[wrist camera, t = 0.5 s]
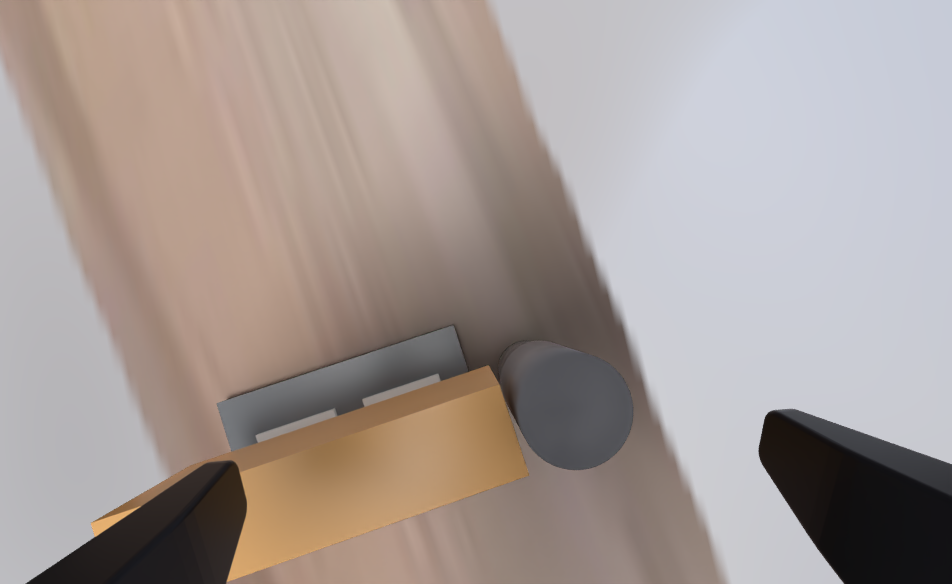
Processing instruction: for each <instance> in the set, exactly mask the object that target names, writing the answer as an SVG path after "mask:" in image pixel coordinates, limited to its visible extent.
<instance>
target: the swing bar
mask: <svg viewBox="0 0 952 584" xmlns="http://www.w3.org/2000/svg"><path fill="white" fill-rule="evenodd" d="M500 385H501V388H500ZM500 385H499V383H498V381H497V379H496V377H495V376H494V374H493V372H492V370H491V369H490V367H489V365H488V366H485V367H482V368H479V369H476V370H473V371H470V372H467V373H464V374H461V375H458V376H455V377H452V378H449V379H446V380H443V381H440V382H437V383H434V384H431V385H428V386H425V387H422V388H419V389H416V390H413V391H410V392H407V393H404V394H401V395H399V396H396V397H393V398H390V399H387V400H384V401H381V402H378V403H375V404H372V405H369V406H366V407H363V408H360V409H357V410H354V411H351V412H348V413H345V414H342V415H339V416H336V417H333V418H330V419H327V420H324V421H321V422H318V423H315V424H312V425H309V426H307V427H304V428H301V429H298V430H295V431H292V432H289V433H286V434H283V435H280V436H277V437H274V438H271V439H268V440H265V441H262V442H259V443H256V444H253V445H250V446H247V447H244V448H241V449H238V450H235V451H232V452H229V453H226V454H223V455H220V456H217V457H215V458H212V459H209V460H206V461H203V462H200V463H197V464H194V465H191V466H189V467H187V468H185V469H184V470H182V471H180V472H178V473H177V474H175V475H173V476H171V477H170V478H168V479H166V480H164V481H163V482H161V483H159V484H158V485H156V486H154V487H152V488H151V489H149V490H147V491H145V492H144V493H142V494H140V495H139V496H137V497H135V498H134V499H132V500H130V501H128V502H126V503H125V504H123V505H121V506H119V507H118V508H116V509H114V510H113V511H111V512H109V513H107V514H106V515H104V516H102V517H100V518H99V519H97V520H95V521H93V522H92V523H91V525H92V529H93V532H94V535H95V537H96V536H97V535H99V534H100V533H102V532H103V531H105V530H106V529H108V528H109V527H111V526H112V525H114V524H115V523H117V522H118V521H120V520H121V519H123V518H124V517H126V516H127V515H129V514H130V513H132V512H133V511H135V510H136V509H138V508H139V507H141V506H142V505H144V504H145V503H147V502H148V501H150V500H151V499H153V498H154V497H156V496H157V495H159V494H160V493H161V492H163V491H164V490H166V489H167V488H169V487H170V486H172V485H173V484H175V483H176V482H178V481H179V480H181V479H182V478H184V477H185V476H187V475H188V474H190V473H191V472H193V471H194V470H196V469H197V468H199V467H200V466H202V465H203V464H205V463H208V462H214V461H225V460H232V461H234V462H236V464H237V465H238V468H239V471H240V475H241V479H242V483H243V487H244V491H245V495H246V499H247V513H246V518H245V521H244V525H243V528H242V532H241V535H240V538H239V542H238V545H237V549H236V552H235V555H234V559H233V562H232V566H231V569H230V572H229V576H228V579H227V582H228V581H231V580H234V579H237V578H239V577H242V576H245V575H248V574H251V573H254V572H256V571H259V570H262V569H265V568H268V567H271V566H273V565H276V564H279V563H282V562H285V561H288V560H291V559H293V558H296V557H299V556H302V555H305V554H308V553H310V552H313V551H316V550H319V549H322V548H325V547H327V546H330V545H333V544H336V543H339V542H342V541H344V540H347V539H350V538H353V537H356V536H359V535H362V534H364V533H367V532H370V531H373V530H376V529H379V528H381V527H384V526H387V525H390V524H393V523H396V522H398V521H401V520H404V519H407V518H410V517H413V516H415V515H418V514H421V513H424V512H427V511H430V510H433V509H435V508H438V507H441V506H444V505H447V504H450V503H452V502H455V501H458V500H461V499H464V498H467V497H469V496H472V495H475V494H478V493H481V492H484V491H486V490H489V489H492V488H495V487H498V486H501V485H504V484H506V483H509V482H512V481H515V480H518V479H521V478H523V477H526V476H529V473H528V470H527V467H526V464H525V461H524V458H523V455H522V452H521V449H520V446H519V443H518V440H517V436H516V433H515V430H514V427H513V424H512V421H511V418H510V415H509V412H508V409H507V406H506V403H507V405H508V407H509V409H510V411H511V413H512V415H513V416H514V418H515V420H516V422H517V424H518V426H519V428H520V430H521V432H522V434H523V435H524V437H525V439H526V441H527V443H528V444H529V446H530V447H531V448H532V450H533V451H534V452H535V453H536V454H537V455H538V456H539V457H541V458H542V459H543V460H545V461H546V462H548V463H550V464H552V465H554V466H556V467H559V468H563V469H569V470H583V469H589V468H592V467H596V466H598V465H600V464H602V463H604V462H606V461H607V460H609V459H610V458H611V457H613V456H614V455H615V454H616V453H617V452H618V451H619V450H620V448H621V447H622V446H623V444H624V443H625V441H626V439H627V437H628V435H629V432H630V430H631V426H632V421H633V402H632V397H631V394H630V391H629V388H628V386H627V384H626V382H625V381H624V379H623V378H622V376H621V375H620V374H619V372H618V371H617V370H616V369H615V368H614V367H612V366H611V365H610V364H609V363H607V362H605V361H604V360H602V359H600V358H598V357H595V356H592V355H589V354H586V353H583V352H580V351H577V350H574V349H571V348H568V347H565V346H562V345H559V344H556V343H553V342H549V341H532V342H528V343H526V344H523V345H521V346H520V347H518V348H517V349H515V350H514V351H513V352H512V353H511V354H510V355H509V357H508V358H507V360H506V361H505V363H504V366H503V368H502V372H501V378H500ZM504 399H505V400H504ZM505 401H506V403H505Z"/></svg>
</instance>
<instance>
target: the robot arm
mask: <svg viewBox="0 0 952 584" xmlns="http://www.w3.org/2000/svg"><path fill="white" fill-rule="evenodd" d="M759 457H760V460H761V463H762V465H763V466H764V468H765V469H766V471H767V473H768V474H769V475H770V477H771V479H772V480H773V482H774V483H775V485H776V486H777V488H778V489H779V491H780V492H781V494H782V496H783V497H784V499H785V500H786V502H787V503H788V505H789V506H790V508H791V509H792V511H793V513H794V514H795V515H796V517H797V518H798V520H799V522H800V523H801V525H802V526H803V528H804V529H805V531H806V533H807V534H808V535H809V537H810V538H811V540H812V541H813V543H814V544H815V545H816V547H817V549H818V550H819V551H820V553H821V554H822V555H823V557H824V558H825V559H826V561H827V562H828V563H829V565H830V566H831V567H832V569H833V570H834V571H835V573H836V574H837V575H838V576H839V578H840V579H841V580H842V581H843V583H844V584H952V464H949V463H946V462H944V461H941V460H938V459H935V458H932V457H930V456H927V455H924V454H921V453H918V452H915V451H912V450H910V449H907V448H904V447H901V446H898V445H895V444H892V443H890V442H887V441H884V440H881V439H878V438H875V437H872V436H870V435H867V434H864V433H861V432H858V431H855V430H853V429H850V428H847V427H844V426H841V425H838V424H836V423H833V422H830V421H827V420H824V419H821V418H819V417H815V416H813V415H810V414H807V413H804V412H801V411H799V410H795V409H783V410H773V411H770V412H769V413H768V414H767V415H766V417H765V419H764V424H763V429H762V434H761V440H760V445H759ZM246 513H247V499H246V495H245V491H244V487H243V483H242V479H241V475H240V471H239V468H238V465H237V464H236V462H234V461H232V460H225V461H214V462H208V463H205V464H203V465H202V466H200V467H199V468H197V469H196V470H194V471H193V472H191V473H190V474H188V475H187V476H185V477H184V478H182V479H181V480H179V481H178V482H176V483H175V484H173V485H172V486H170V487H169V488H167V489H166V490H164V491H163V492H161V493H160V494H159V495H157V496H156V497H154V498H153V499H151V500H150V501H148V502H147V503H145V504H144V505H142V506H141V507H139V508H138V509H136V510H135V511H133V512H132V513H130V514H129V515H127V516H126V517H124V518H123V519H121V520H120V521H118V522H117V523H115V524H114V525H112V526H111V527H109V528H108V529H106V530H105V531H103V532H102V533H100V534H99V535H97V536H96V537H94V538H93V539H91V540H90V541H88V542H87V543H86V544H84V545H82V546H81V547H80V548H78V549H76V550H75V551H74V552H72V553H71V554H69V555H68V556H66V557H65V558H63V559H62V560H60V561H59V562H57V563H56V564H54V565H53V566H51V567H50V568H48V569H47V570H45V571H44V572H42V573H41V574H39V575H38V576H36V577H35V578H33V579H32V580H30V581H29V582H27V583H26V584H226V583H227V579H228V576H229V572H230V569H231V566H232V562H233V559H234V555H235V552H236V549H237V545H238V542H239V538H240V535H241V532H242V528H243V525H244V521H245V518H246Z"/></svg>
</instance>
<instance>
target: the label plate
mask: <svg viewBox="0 0 952 584" xmlns="http://www.w3.org/2000/svg"><path fill="white" fill-rule="evenodd" d="M467 372H469V371H468V367H467V364H466V361H465V358H464V355H463V352H462V349H461V346H460V343H459V340H458V337H457V334H456V331H455V328H454V325H451V326H448V327H445V328H442V329H439V330H436V331H433V332H430V333H427V334H424V335H421V336H418V337H415V338H412V339H409V340H406V341H403V342H400V343H397V344H394V345H391V346H388V347H384V348H381V349H378V350H375V351H372V352H369V353H366V354H363V355H360V356H357V357H354V358H351V359H348V360H345V361H342V362H339V363H336V364H333V365H330V366H327V367H324V368H321V369H318V370H315V371H312V372H309V373H306V374H303V375H300V376H297V377H294V378H291V379H288V380H285V381H282V382H279V383H276V384H273V385H270V386H267V387H263V388H260V389H257V390H254V391H251V392H248V393H245V394H242V395H239V396H236V397H233V398H230V399H227V400H225V401H222V402H219V403H217V406H218V410H219V413H220V416H221V419H222V423H223V426H224V429H225V432H226V435H227V439H228V442H229V445H230V448H231V452H232V451H235V450H238V449H241V448H244V447H247V446H250V445H253V444H256V443H259V442H262V441H265V440H268V439H271V438H274V437H277V436H280V435H283V434H286V433H289V432H292V431H295V430H298V429H301V428H304V427H307V426H309V425H312V424H315V423H318V422H321V421H324V420H327V419H330V418H333V417H336V416H339V415H342V414H345V413H348V412H351V411H354V410H357V409H360V408H363V407H366V406H369V405H372V404H375V403H378V402H381V401H384V400H387V399H390V398H393V397H396V396H399V395H401V394H404V393H407V392H410V391H413V390H416V389H419V388H422V387H425V386H428V385H431V384H434V383H437V382H440V381H443V380H446V379H449V378H452V377H455V376H458V375H461V374H464V373H467Z"/></svg>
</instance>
